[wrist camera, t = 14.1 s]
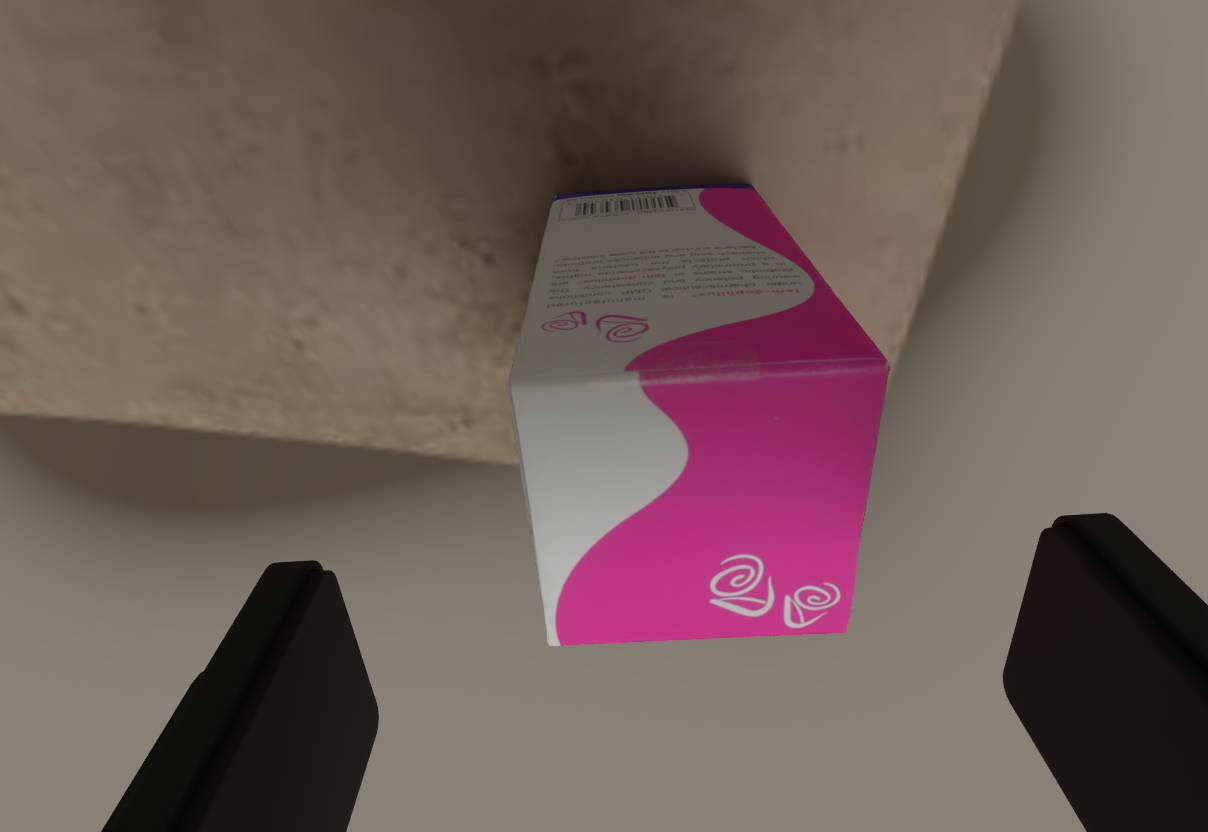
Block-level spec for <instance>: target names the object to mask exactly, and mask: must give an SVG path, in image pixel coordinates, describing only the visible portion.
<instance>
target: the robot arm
mask: <svg viewBox="0 0 1208 832" xmlns="http://www.w3.org/2000/svg"><path fill="white" fill-rule="evenodd" d="M1003 683H1004V688H1005V692H1006V695H1007V697H1008V699H1009V702H1010V704H1011V705H1012V707H1013V709H1014V710H1015V712H1016V713H1017V715H1018V717H1019V718H1020V720H1021V722H1022V724H1023V725H1024V727H1025V729H1026V730H1027V732H1028V733H1029V735H1030V737H1031V739H1032V741H1033V742H1034V744H1035V746H1036V747H1037V749H1038V751H1039V752H1040V754H1041V755H1042V757H1043V759H1044V761H1045V762H1046V764H1047V766H1048V767H1049V769H1050V771H1051V772H1052V774H1053V776H1054V777H1055V779H1056V781H1057V782H1058V784H1059V786H1060V788H1061V789H1062V791H1063V792H1064V794H1065V796H1066V798H1067V799H1068V801H1069V802H1070V804H1071V806H1072V807H1073V809H1074V811H1075V813H1076V814H1077V816H1078V818H1079V819H1080V821H1081V823H1082V824H1083V826H1084V828H1085V829H1086V831H1087V832H1208V605H1207V604H1206V603H1205V602H1204V601H1203V600H1202V599H1201V598H1200V597H1199V596H1198V595H1196V593H1195V592H1194V591H1192V590H1191V589H1190V588H1189V587H1188V586H1187V585H1186V584H1185V583H1184V582H1183V581H1182V580H1181V579H1180V578H1179V577H1178V576H1177V575H1176V574H1175V573H1174V572H1173V571H1172V570H1171V569H1170V568H1169V567H1168V566H1167V565H1166V564H1165V563H1164V562H1163V561H1161V560H1160V558H1159V557H1157V556H1156V555H1155V554H1154V553H1153V552H1152V551H1151V550H1150V549H1149V548H1148V547H1147V546H1146V545H1145V544H1144V543H1143V542H1142V541H1141V540H1140V539H1139V538H1138V537H1137V536H1136V535H1135V534H1134V533H1133V532H1132V531H1131V530H1129V529H1128V527H1126V526H1125V525H1124V524H1123V523H1122V522H1121V521H1120V520H1119V519H1118V518H1116V517H1115V516H1114V515H1111V514H1107V513H1099V514H1082V515H1067V516H1066V515H1065V516H1061V517H1058V518H1057V519H1056V520H1055V521H1054V523H1053V525H1052V527H1051V528H1046V529H1044V530H1043V531H1042V533H1041V535H1040V538H1039V542H1038V545H1037V549H1036V552H1035V557H1034V560H1033V563H1032V567H1031V571H1030V575H1029V578H1028V582H1027V586H1026V589H1025V593H1024V597H1023V601H1022V604H1021V608H1020V612H1019V616H1018V619H1017V623H1016V627H1015V630H1014V634H1013V638H1012V641H1011V645H1010V649H1009V653H1008V656H1007V660H1006V664H1005V668H1004V672H1003ZM378 720H379V715H378V707H377V703H376V699H375V696H374V693H373V690H372V687H371V684H370V681H369V678H368V674H367V671H366V668H365V665H364V662H363V659H362V656H361V653H360V650H359V647H358V643H357V640H356V638H355V634H354V631H353V628H352V625H351V622H350V618H349V616H348V612H347V609H346V606H345V603H344V600H343V597H342V594H341V591H340V587H339V584H338V581H337V578H336V576H335V574H334V573H333V572H332V571H324V570H323V568H322V566H321V564H320V563H319V562H317V561H313V560H311V561H295V562H278V563H273V564H271V565H269V566H268V567H267V568H266V570H265V571H264V573H263V574H262V576H261V578H260V579H259V581H258V583H257V584H256V586H255V587H254V589H253V591H252V593H251V594H250V596H249V597H248V599H247V601H246V603H245V604H244V606H243V608H242V609H241V611H240V612H239V614H238V616H237V617H236V619H235V621H234V622H233V624H232V626H231V627H230V629H229V630H228V632H227V634H226V636H225V637H224V639H223V640H222V642H221V644H220V645H219V647H218V649H217V650H216V652H215V654H214V656H213V657H212V659H211V660H210V662H209V664H208V665H207V667H206V669H205V670H204V671H203V672H201V673H200V674H199V675H198V677H197V678H196V679H195V680H194V682H193V683H192V684H191V686H190V687H189V689H188V690H187V692H186V694H185V695H184V697H183V699H182V700H181V702H180V704H179V705H178V707H177V709H176V710H175V712H174V713H173V715H172V717H171V718H170V720H169V722H168V723H167V725H166V727H165V728H164V730H163V732H162V733H161V735H160V736H159V738H158V740H157V741H156V743H155V744H154V746H153V748H152V749H151V751H150V753H149V754H148V756H147V758H146V759H145V761H144V762H143V764H142V766H141V767H140V769H139V771H138V772H137V774H136V776H135V777H134V779H133V780H132V782H131V784H130V786H129V787H128V789H127V790H126V792H125V793H124V795H123V797H122V799H121V800H120V802H119V803H118V805H117V807H116V808H115V810H114V811H113V813H112V815H111V816H110V818H109V820H108V821H107V823H106V825H105V826H104V828H103V829H102V831H101V832H346V831H347V827H348V824H349V821H350V818H351V814H352V811H353V808H354V805H355V802H356V799H357V795H358V792H359V789H360V786H361V782H362V779H363V776H364V773H365V770H366V766H367V763H368V760H369V757H370V754H371V750H372V747H373V744H374V741H375V737H376V734H377V729H378Z"/></svg>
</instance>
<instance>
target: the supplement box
mask: <svg viewBox="0 0 1208 832" xmlns="http://www.w3.org/2000/svg"><path fill="white" fill-rule="evenodd" d="M889 371H890V364H889V362H888V361H887V359H886V358H885V357H884V355H883V354H882V353H881V351H880V350H879V349H878V348H877V346H876V345H875V344H874V342H873V341H872V340H871V339H870V337H869V336H868V335H867V334H866V333H865V331H864V330H863V329H862V328H861V326H860V325H859V324H858V322H857V321H856V320H855V319H854V317H853V316H852V315H851V314H850V312H849V311H848V310H847V309H846V308H845V306H844V305H843V303H842V302H841V301H840V300H839V298H838V297H837V296H836V295H835V294H834V292H833V291H832V289H831V288H830V286H829V285H828V284H827V283H826V282H825V280H824V279H823V277H822V276H821V275H820V273H819V272H818V271H817V269H816V268H815V267H814V265H813V264H812V263H811V261H810V260H809V259H808V258H807V256H806V255H805V254H804V253H803V251H802V250H801V249H800V247H799V246H798V245H797V243H796V242H795V241H794V240H793V238H792V237H791V236H790V234H789V233H788V232H787V231H786V229H785V228H784V227H783V226H782V224H781V223H780V222H779V220H778V219H777V218H776V217H775V215H774V214H773V213H772V211H771V210H770V208H769V207H768V206H767V204H766V203H765V202H764V200H763V199H762V198H761V196H760V195H759V194H758V192H757V191H756V190H755V189H754V187H753V186H752V185H748V184H723V185H699V186H677V187H662V188H645V189H627V190H614V191H599V192H586V193H574V194H557V195H555V196H554V199H553V203H552V205H551V208H550V212H549V217H548V221H547V225H546V228H545V232H544V236H543V240H542V245H541V250H540V254H539V257H538V262H537V266H536V271H535V276H534V279H533V283H532V287H531V291H530V296H529V300H528V304H527V308H526V312H525V316H524V320H523V324H522V328H521V332H520V336H519V342H518V345H517V348H516V353H515V357H514V360H513V364H512V368H511V372H510V376H509V381H508V393H509V398H510V406H511V415H512V422H513V428H514V434H515V441H516V447H517V453H518V459H519V466H520V471H521V478H522V485H523V491H524V497H525V502H526V508H527V514H528V521H529V527H530V534H531V540H532V547H533V552H534V558H535V564H536V570H537V576H538V582H539V588H540V594H541V600H542V606H543V612H544V618H545V625H546V632H547V642H548V645H550V646H563V645H580V644H601V643H625V642H626V643H627V642H645V641H665V640H687V639H708V638H730V637H753V636H775V635H776V636H779V635H802V634H826V633H843V632H847V629H848V624H849V619H850V613H851V606H852V599H853V592H854V585H855V576H856V569H857V559H858V551H859V543H860V538H861V532H862V526H863V521H864V515H865V510H866V504H867V498H868V491H869V486H870V480H871V474H872V468H873V462H874V455H875V451H876V444H877V438H878V433H879V426H880V420H881V415H882V410H883V404H884V398H885V392H886V386H887V378H888V374H889Z"/></svg>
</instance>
